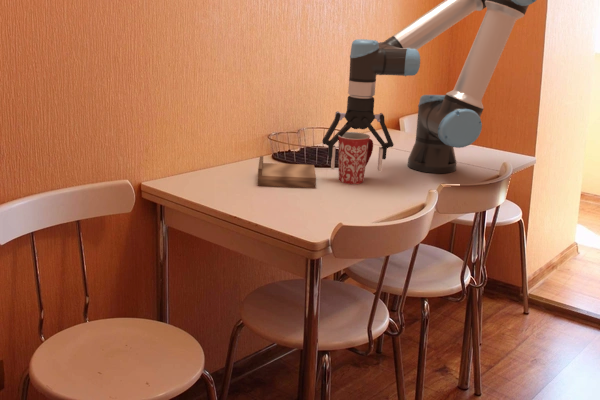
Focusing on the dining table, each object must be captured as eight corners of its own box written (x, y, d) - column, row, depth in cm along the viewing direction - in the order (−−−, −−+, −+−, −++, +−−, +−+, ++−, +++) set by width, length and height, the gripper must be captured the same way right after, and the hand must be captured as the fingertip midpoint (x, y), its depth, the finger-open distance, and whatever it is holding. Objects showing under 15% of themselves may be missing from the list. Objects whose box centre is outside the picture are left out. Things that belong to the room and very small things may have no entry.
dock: (313, 174, 207) (314, 158, 206) (315, 188, 194) (316, 170, 192) (259, 172, 207) (259, 156, 205) (257, 186, 193) (258, 168, 192)
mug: (351, 187, 197) (354, 140, 193) (328, 179, 203) (331, 134, 199) (381, 180, 205) (385, 135, 201) (358, 173, 211) (362, 129, 207)
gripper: (403, 95, 200) (396, 167, 207) (316, 92, 200) (312, 164, 206) (407, 100, 193) (400, 174, 200) (317, 96, 192) (313, 170, 199)
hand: (355, 169), depth 203 cm, fingers open, 13 cm apart
